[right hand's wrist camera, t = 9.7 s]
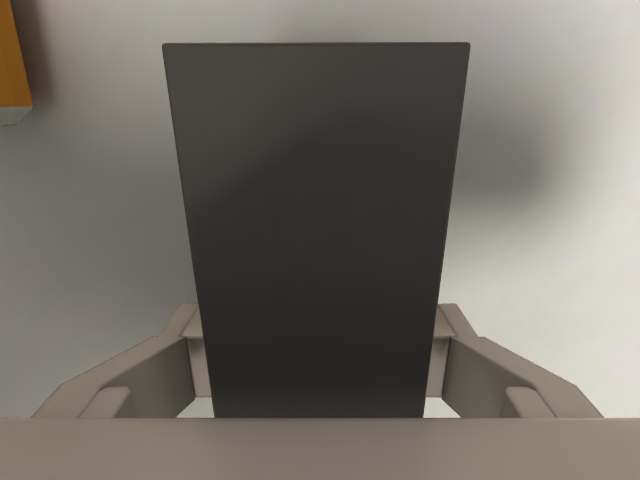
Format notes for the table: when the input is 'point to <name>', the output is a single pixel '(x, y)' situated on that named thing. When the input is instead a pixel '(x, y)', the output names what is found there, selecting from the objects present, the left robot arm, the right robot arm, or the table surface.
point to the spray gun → (12, 72)
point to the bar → (317, 218)
